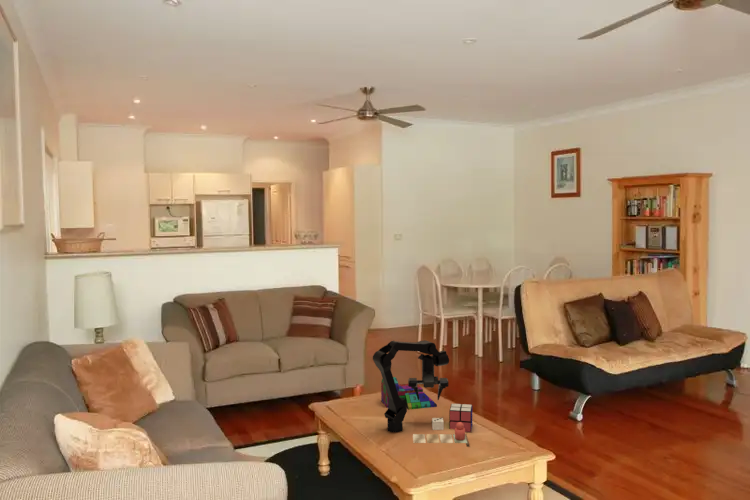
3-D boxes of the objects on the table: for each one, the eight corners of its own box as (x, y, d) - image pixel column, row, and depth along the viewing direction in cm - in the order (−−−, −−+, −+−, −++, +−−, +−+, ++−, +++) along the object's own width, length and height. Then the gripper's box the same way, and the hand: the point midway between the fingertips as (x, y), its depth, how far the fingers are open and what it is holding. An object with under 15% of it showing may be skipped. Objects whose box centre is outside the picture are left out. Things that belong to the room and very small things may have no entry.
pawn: (455, 440, 276) (454, 423, 275) (454, 436, 280) (454, 420, 280) (465, 440, 275) (465, 423, 275) (464, 436, 280) (464, 420, 279)
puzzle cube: (471, 432, 288) (471, 411, 287) (449, 431, 290) (449, 410, 289) (472, 425, 297) (472, 404, 297) (451, 423, 299) (451, 403, 299)
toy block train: (390, 411, 318) (389, 384, 317) (381, 401, 334) (381, 375, 333) (436, 407, 324) (436, 380, 323) (425, 397, 340) (425, 371, 339)
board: (411, 446, 273) (411, 443, 273) (410, 435, 285) (410, 433, 284) (469, 446, 272) (469, 443, 271) (466, 436, 284) (466, 433, 283)
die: (432, 432, 289) (432, 420, 288) (432, 428, 294) (432, 417, 293) (443, 432, 288) (443, 420, 288) (442, 428, 293) (442, 417, 293)
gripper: (408, 372, 288) (408, 405, 290) (449, 372, 288) (449, 405, 289) (408, 366, 299) (408, 398, 301) (447, 365, 299) (447, 398, 300)
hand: (428, 400), depth 297 cm, fingers open, 9 cm apart
